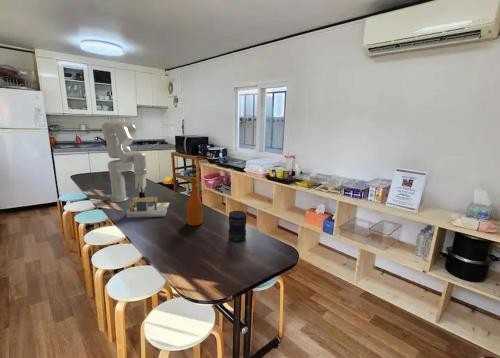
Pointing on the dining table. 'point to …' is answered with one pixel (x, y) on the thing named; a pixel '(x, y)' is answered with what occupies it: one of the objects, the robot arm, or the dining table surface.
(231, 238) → the black camera lens
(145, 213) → the plane body
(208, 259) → the dining table surface
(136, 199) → the latch lever
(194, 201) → the wine bottle
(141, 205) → the dark grey block
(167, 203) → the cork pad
